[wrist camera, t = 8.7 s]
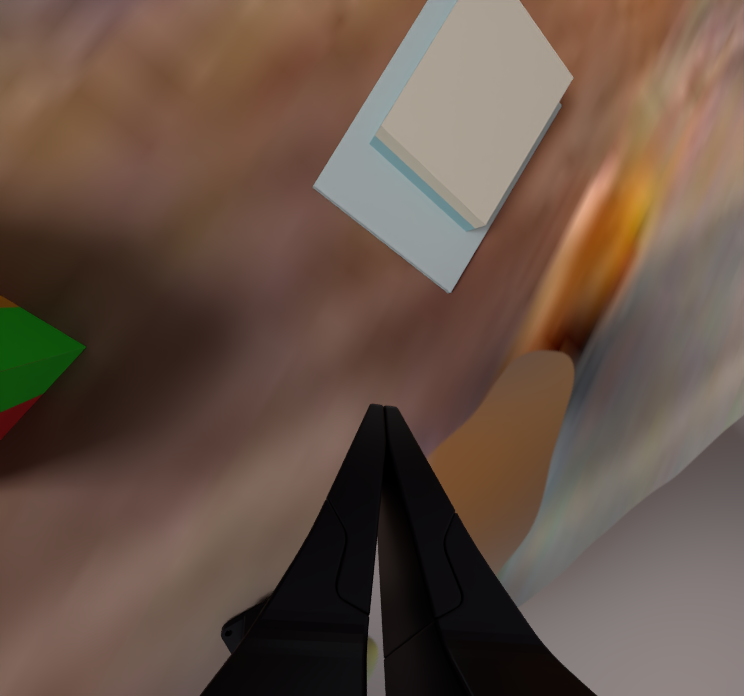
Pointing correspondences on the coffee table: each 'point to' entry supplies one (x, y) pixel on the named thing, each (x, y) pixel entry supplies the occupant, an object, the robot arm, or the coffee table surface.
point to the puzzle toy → (28, 360)
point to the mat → (389, 186)
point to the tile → (474, 108)
